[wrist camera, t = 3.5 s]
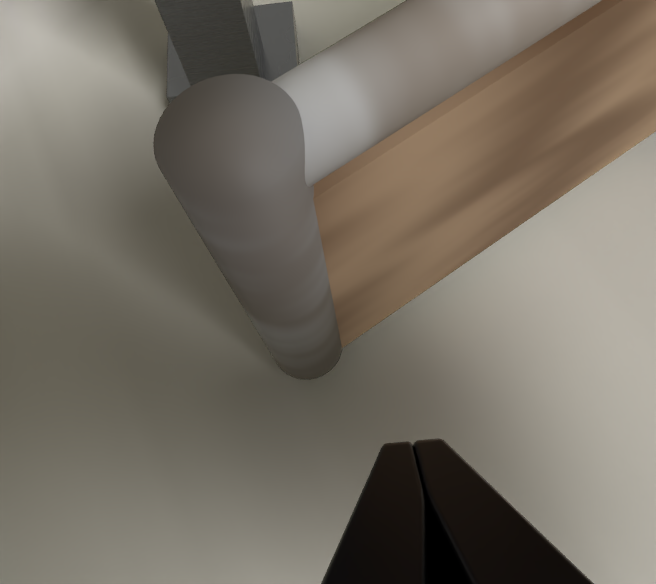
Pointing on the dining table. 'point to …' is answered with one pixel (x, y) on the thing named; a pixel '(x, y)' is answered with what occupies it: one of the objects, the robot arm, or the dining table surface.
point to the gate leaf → (401, 154)
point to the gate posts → (227, 40)
